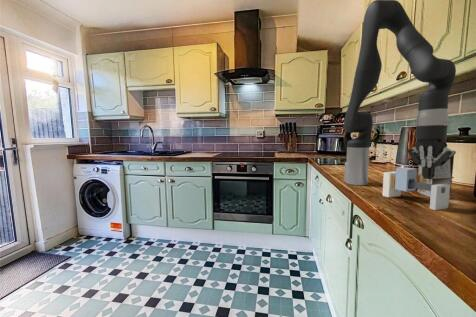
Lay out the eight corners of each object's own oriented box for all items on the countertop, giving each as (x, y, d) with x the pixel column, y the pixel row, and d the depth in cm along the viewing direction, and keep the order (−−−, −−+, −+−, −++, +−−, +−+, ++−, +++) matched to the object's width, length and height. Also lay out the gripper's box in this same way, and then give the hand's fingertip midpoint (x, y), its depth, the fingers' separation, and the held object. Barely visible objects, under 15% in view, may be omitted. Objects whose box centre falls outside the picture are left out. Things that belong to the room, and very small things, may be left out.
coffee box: (451, 198, 80) (455, 153, 78) (430, 198, 81) (434, 153, 79) (434, 192, 88) (437, 151, 87) (416, 191, 90) (418, 151, 88)
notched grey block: (394, 189, 81) (396, 168, 80) (404, 187, 82) (405, 167, 81) (406, 191, 77) (407, 169, 76) (415, 190, 78) (417, 168, 78)
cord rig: (382, 195, 85) (383, 172, 84) (394, 194, 87) (395, 171, 86) (435, 210, 68) (437, 181, 67) (448, 207, 70) (450, 179, 69)
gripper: (401, 125, 76) (399, 176, 77) (448, 123, 63) (444, 183, 65) (417, 125, 78) (414, 174, 80) (465, 123, 65) (461, 181, 67)
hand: (428, 178), depth 72 cm, fingers closed
